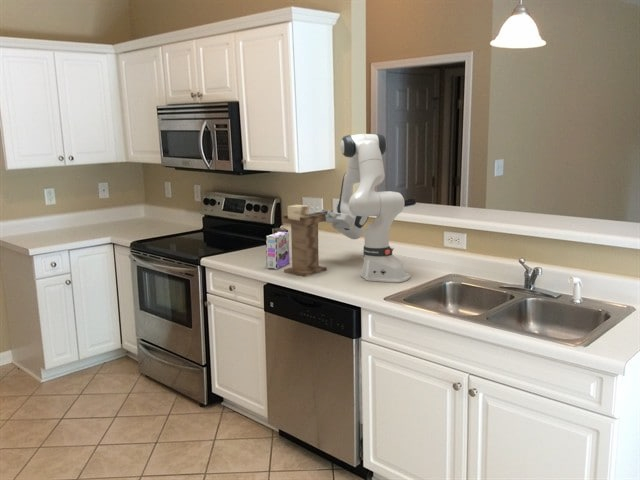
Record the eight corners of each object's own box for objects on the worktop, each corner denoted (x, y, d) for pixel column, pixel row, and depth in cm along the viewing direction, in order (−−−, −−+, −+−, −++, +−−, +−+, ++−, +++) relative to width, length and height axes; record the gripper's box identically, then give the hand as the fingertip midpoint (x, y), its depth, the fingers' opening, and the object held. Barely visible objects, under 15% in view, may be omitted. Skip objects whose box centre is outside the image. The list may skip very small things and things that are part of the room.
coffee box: (289, 260, 307) (288, 229, 304) (277, 261, 305) (276, 230, 302) (284, 256, 316) (283, 227, 313) (272, 258, 313) (271, 228, 310)
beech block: (325, 212, 295) (324, 200, 293) (337, 213, 289) (337, 201, 288) (287, 218, 276) (287, 206, 275) (300, 220, 270) (299, 207, 269)
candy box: (276, 269, 287) (275, 236, 284) (266, 268, 289) (265, 235, 286) (290, 263, 299) (289, 231, 296) (279, 262, 302) (278, 231, 299)
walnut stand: (307, 266, 293) (306, 211, 288) (326, 270, 285) (325, 213, 279) (284, 272, 282) (282, 215, 276) (303, 276, 273) (302, 217, 268)
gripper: (327, 214, 306) (311, 203, 296) (358, 218, 292) (342, 207, 282) (323, 226, 304) (307, 215, 294) (354, 230, 291) (338, 219, 281)
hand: (324, 211), depth 288 cm, fingers closed on beech block, 2 cm apart
